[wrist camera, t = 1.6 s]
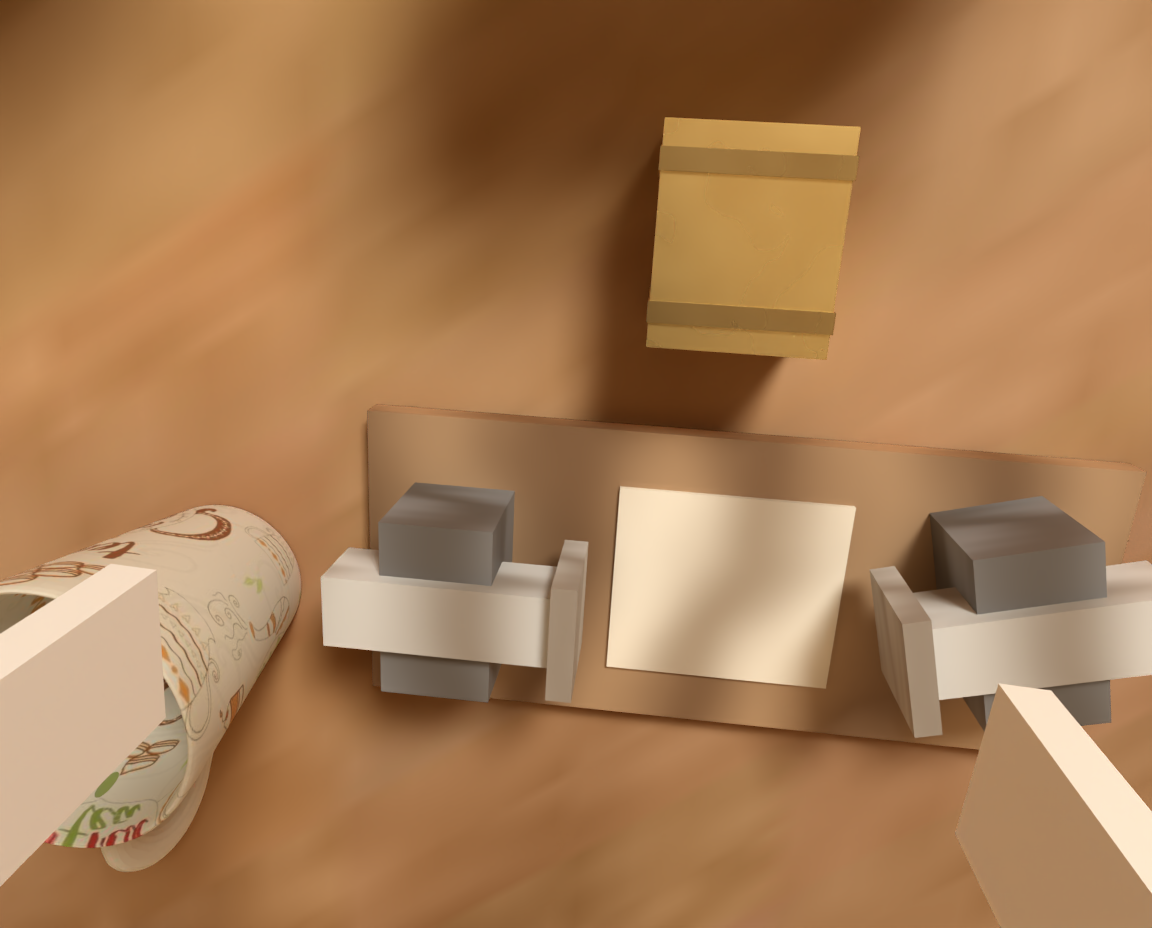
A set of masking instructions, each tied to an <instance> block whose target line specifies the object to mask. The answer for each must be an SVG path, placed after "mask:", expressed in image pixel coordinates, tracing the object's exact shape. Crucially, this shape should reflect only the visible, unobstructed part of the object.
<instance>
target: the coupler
mask: <svg viewBox="0 0 1152 928" xmlns="http://www.w3.org/2000/svg"><path fill="white" fill-rule="evenodd" d="M860 130H861V127H854V126H834V125H814V124H794V123H773V122H753V121H733V120H713V119H693V118H673V117H665V120H664V132H663V144H662V146H661V145H660V158H659V179H660V181H659V193H658V205H657V218H656V230H655V242H654V254H653V267H652V279H651V286H650V288H649V296H648V305H647V318H646V322H648V328H647V340H646V347H653V348H667V349H681V350H695V351H709V352H723V353H737V354H751V355H765V356H779V357H793V358H807V359H822V360H826V359H827V353H828V346H829V339H830V335H833V330H834V324H835V317H836V313H835V312H834V305H835V299H836V292H837V285H838V278H839V272H840V265H841V258H842V251H843V245H844V238H845V231H846V224H847V218H848V211H849V204H850V197H851V191H852V184H853V181H856V176H857V169H858V163H859V156H857V150H858V143H859V137H860Z"/></svg>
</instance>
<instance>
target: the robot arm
mask: <svg viewBox="0 0 1152 928" xmlns="http://www.w3.org/2000/svg"><path fill="white" fill-rule="evenodd" d="M165 718H166V713H165V697H164V681H163V665H162V649H161V633H160V617H159V600H158V584H157V570H154V569H146V568H139V567H132V566H124V565H117V564H110V565H108V566H106V567H105V568H103V569H102V570H100V571H98V572H97V573H95V574H94V575H92V576H91V577H89V578H87V579H86V580H84V581H83V582H81V583H80V584H78V585H76V586H75V587H73V588H72V589H70V590H68V591H67V592H65V593H64V594H62V595H61V596H59V597H57V598H56V599H54V600H53V601H51V602H50V603H48V604H46V605H45V606H43V607H42V608H40V609H39V610H37V611H35V612H34V613H32V614H31V615H29V616H27V617H26V618H24V619H23V620H21V621H20V622H18V623H16V624H15V625H13V626H12V627H10V628H9V629H7V630H5V631H4V632H2V633H1V634H0V886H1V885H2V884H3V883H4V882H5V881H6V880H7V879H8V878H9V877H10V876H11V875H12V874H13V873H14V872H15V871H16V870H17V869H18V868H19V867H20V866H21V865H22V864H23V863H24V862H25V861H26V860H27V859H28V858H29V857H30V856H31V855H32V854H33V853H34V852H35V851H36V849H37V848H38V847H39V846H40V845H41V844H42V843H43V842H44V841H45V840H46V839H47V838H48V837H49V836H50V835H51V834H52V833H53V832H54V831H55V830H56V829H57V828H58V827H59V826H60V825H61V824H62V823H63V822H64V821H65V820H66V819H67V818H68V817H69V816H70V815H71V814H72V813H73V812H74V811H75V810H76V809H77V808H78V807H79V806H80V805H81V804H82V803H83V802H84V801H85V800H86V799H87V798H88V797H89V796H90V795H91V794H92V793H93V791H94V790H95V789H96V788H97V787H98V786H99V785H100V784H101V783H102V782H103V781H104V780H105V779H106V778H107V777H108V776H109V775H110V774H111V773H112V772H113V771H114V770H115V769H116V768H117V767H118V766H119V765H120V764H121V763H122V762H123V761H124V760H125V759H126V758H127V757H128V756H129V755H130V754H131V753H132V752H133V751H134V750H135V749H136V748H137V747H138V746H139V745H140V744H141V743H142V742H143V741H144V740H145V739H146V738H147V737H148V736H149V734H150V733H151V732H152V731H153V730H154V729H155V728H156V727H157V726H158V725H159V724H160V723H161V722H162V721H163V720H164V719H165ZM955 835H956V837H957V839H958V841H959V843H960V845H961V847H962V849H963V851H964V853H965V856H966V858H967V860H968V862H969V864H970V866H971V868H972V870H973V872H974V874H975V876H976V878H977V880H978V883H979V885H980V887H981V889H982V891H983V893H984V895H985V897H986V899H987V901H988V903H989V905H990V908H991V910H992V912H993V914H994V916H995V918H996V920H997V922H998V924H999V926H1000V928H1152V811H1151V810H1150V809H1149V808H1148V807H1147V805H1146V804H1145V803H1144V802H1143V801H1142V799H1141V798H1140V797H1139V796H1138V795H1137V793H1136V792H1135V791H1134V790H1133V789H1132V787H1131V786H1130V785H1129V784H1128V783H1127V781H1126V780H1125V779H1124V778H1123V777H1122V775H1121V774H1120V773H1119V772H1118V770H1117V769H1116V768H1115V767H1114V766H1113V764H1112V763H1111V762H1110V761H1109V760H1108V758H1107V757H1106V756H1105V755H1104V754H1103V752H1102V751H1101V750H1100V749H1099V748H1098V746H1097V745H1096V744H1095V743H1094V742H1093V740H1092V739H1091V738H1090V737H1089V736H1088V734H1087V733H1086V732H1085V731H1084V729H1083V728H1082V727H1081V726H1080V725H1079V723H1078V722H1077V721H1076V720H1075V719H1074V717H1073V716H1072V715H1071V714H1070V713H1069V711H1068V710H1067V709H1066V708H1065V707H1064V705H1063V704H1062V703H1061V702H1060V701H1059V699H1058V698H1057V697H1056V696H1055V695H1054V693H1053V692H1052V691H1051V690H1044V689H1036V688H1029V687H1021V686H1014V685H1006V684H999V683H998V687H997V690H996V694H995V697H994V701H993V704H992V708H991V711H990V715H989V718H988V721H987V725H986V728H985V732H984V735H983V739H982V742H981V746H980V749H979V753H978V756H977V759H976V763H975V766H974V770H973V773H972V777H971V780H970V784H969V787H968V791H967V794H966V798H965V801H964V804H963V808H962V811H961V815H960V818H959V822H958V825H957V829H956V832H955Z"/></svg>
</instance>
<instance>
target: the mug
mask: <svg viewBox="0 0 1152 928" xmlns="http://www.w3.org/2000/svg"><path fill="white" fill-rule="evenodd" d="M110 564H117V565H124V566H132V567H139V568H146V569H154V570H157V584H158V600H159V617H160V633H161V649H162V665H163V681H164V697H165V713H166V718H165V719H164V720H163V721H162V722H161V723H160V724H159V725H158V726H157V727H156V728H155V729H154V730H153V731H152V732H151V733H150V734H149V736H148V737H147V738H146V739H145V740H144V741H143V742H142V743H141V744H140V745H139V746H138V747H137V748H136V749H135V750H134V751H133V752H132V753H131V754H130V755H129V756H128V757H127V758H126V759H125V760H124V761H123V762H122V763H121V764H120V765H119V766H118V767H117V768H116V769H115V770H114V771H113V772H112V773H111V774H110V775H109V776H108V777H107V778H106V779H105V780H104V781H103V782H102V783H101V784H100V785H99V786H98V787H97V788H96V789H95V790H94V791H93V793H92V794H91V795H90V796H89V797H88V798H87V799H86V800H85V801H84V802H83V803H82V804H81V805H80V806H79V807H78V808H77V809H76V810H75V811H74V812H73V813H72V814H71V815H70V816H69V817H68V818H67V819H66V820H65V821H64V822H63V823H62V824H61V825H60V826H59V827H58V828H57V829H56V830H55V831H54V832H53V833H52V834H51V835H50V836H49V837H48V838H47V839H46V840H45V841H44V842H46V843H50V844H54V845H60V846H66V847H77V848H98V847H100V848H101V851H102V853H103V856H104V859H105V860H106V862H107V864H108V865H109V866H110V867H112V868H114V869H116V870H117V871H121V872H133V871H138V870H142V869H145V868H148V867H150V866H152V865H154V864H155V863H157V862H158V861H159V860H161V859H162V858H163V857H164V856H166V855H167V854H168V853H169V852H170V851H171V850H172V849H173V848H174V847H175V845H176V844H177V843H178V842H179V841H180V839H181V838H182V837H183V835H184V834H185V832H186V831H187V829H188V828H189V826H190V824H191V822H192V821H193V819H194V817H195V814H196V812H197V810H198V808H199V806H200V803H201V801H202V798H203V795H204V792H205V789H206V785H207V781H208V777H209V772H210V767H211V762H212V757H213V753H214V750H215V749H216V747H217V745H218V744H219V742H220V740H221V739H222V737H223V735H224V734H225V732H226V730H227V729H228V727H229V725H230V724H231V722H232V720H233V718H234V717H235V715H236V713H237V712H238V710H239V708H240V707H241V705H242V703H243V702H244V700H245V698H246V697H247V695H248V693H249V692H250V690H251V688H252V687H253V685H254V683H255V682H256V680H257V678H258V677H259V675H260V673H261V672H262V670H263V668H264V667H265V665H266V663H267V662H268V660H269V658H270V657H271V655H272V653H273V652H274V650H275V648H276V647H277V645H278V643H279V642H280V640H281V638H282V637H283V635H284V633H285V632H286V630H287V628H288V626H289V625H290V623H291V621H292V619H293V617H294V615H295V613H296V611H297V608H298V605H299V602H300V597H301V576H300V571H299V567H298V564H297V561H296V559H295V556H294V554H293V552H292V551H291V549H290V547H289V546H288V544H287V543H286V541H285V540H284V539H283V537H282V536H281V535H280V534H279V533H278V532H277V531H276V530H275V529H274V528H273V527H272V526H270V525H269V524H268V523H267V522H265V521H264V520H262V519H261V518H259V517H258V516H256V515H254V514H252V513H250V512H247V511H245V510H242V509H239V508H235V507H231V506H224V505H206V506H200V507H196V508H192V509H189V510H186V511H183V512H180V513H177V514H175V515H172V516H170V517H167V518H164V519H162V520H159V521H156V522H154V523H151V524H148V525H146V526H143V527H140V528H138V529H135V530H133V531H130V532H127V533H125V534H122V535H119V536H117V537H114V538H111V539H109V540H106V541H104V542H101V543H98V544H96V545H93V546H90V547H88V548H85V549H82V550H80V551H77V552H75V553H72V554H69V555H67V556H64V557H61V558H59V559H56V560H53V561H51V562H48V563H45V564H43V565H40V566H38V567H35V568H32V569H30V570H27V571H24V572H22V573H19V574H16V575H14V576H11V577H9V578H6V579H3V580H1V581H0V634H1V633H2V632H4V631H5V630H7V629H9V628H10V627H12V626H13V625H15V624H16V623H18V622H20V621H21V620H23V619H24V618H26V617H27V616H29V615H31V614H32V613H34V612H35V611H37V610H39V609H40V608H42V607H43V606H45V605H46V604H48V603H50V602H51V601H53V600H54V599H56V598H57V597H59V596H61V595H62V594H64V593H65V592H67V591H68V590H70V589H72V588H73V587H75V586H76V585H78V584H80V583H81V582H83V581H84V580H86V579H87V578H89V577H91V576H92V575H94V574H95V573H97V572H98V571H100V570H102V569H103V568H105V567H106V566H108V565H110Z"/></svg>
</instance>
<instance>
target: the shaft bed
mask: <svg viewBox="0 0 1152 928" xmlns="http://www.w3.org/2000/svg"><path fill="white" fill-rule="evenodd" d="M367 423H368V474H369V525H370V549H360V548H348V549H347V550H346V551H345V552H344V553H343V554H342V555H341V556H340V557H339V558H338V559H337V560H336V561H335V563H334V564H333V565H332V566H331V567H330V568H329V569H328V570H327V571H326V572H325V573H324V574H323V575H322V576H321V595H322V621H323V645H324V646H334V647H344V648H354V649H363V650H372V677H373V686H380V687H381V691H384V692H393V693H403V694H412V695H422V696H431V697H441V698H450V699H460V700H469V701H479V702H488V701H489V698H494V699H503V700H513V701H522V702H532V703H541V704H551V705H560V706H570V707H579V708H589V709H598V710H608V711H617V712H627V713H636V714H646V715H655V716H665V717H674V718H684V719H693V720H703V721H712V722H722V723H731V724H741V725H750V726H760V727H769V728H779V729H788V730H798V731H807V732H817V733H826V734H836V735H845V736H855V737H864V738H874V739H883V740H893V741H902V742H912V743H921V744H931V745H940V746H950V747H959V748H969V749H978V750H979V749H980V746H981V742H982V739H983V735H984V732H985V728H986V725H987V721H988V718H989V715H990V711H991V708H992V704H993V701H994V697H995V694H996V690H997V687H998V683H999V684H1006V685H1014V686H1021V687H1029V688H1036V689H1044V690H1051V691H1052V692H1053V693H1054V695H1055V696H1056V697H1057V698H1058V699H1059V701H1060V702H1061V703H1062V704H1063V705H1064V707H1065V708H1066V709H1067V710H1068V711H1069V713H1070V714H1071V715H1072V716H1073V717H1074V719H1075V720H1076V721H1077V722H1078V723H1079V725H1080V726H1084V725H1093V724H1102V723H1111V699H1110V680H1111V679H1120V678H1128V677H1137V676H1145V675H1152V564H1151V563H1149V562H1148V561H1139V562H1132V563H1124V564H1122V560H1123V556H1124V553H1125V549H1126V545H1127V542H1128V538H1129V535H1130V531H1131V527H1132V524H1133V520H1134V516H1135V513H1136V509H1137V506H1138V502H1139V498H1140V495H1141V491H1142V488H1143V484H1144V480H1145V477H1146V473H1147V472H1146V471H1144V470H1142V469H1140V468H1138V467H1136V466H1134V465H1132V464H1130V463H1120V462H1108V461H1095V460H1082V459H1069V458H1056V457H1044V456H1031V455H1018V454H1005V453H993V452H980V451H967V450H954V449H942V448H929V447H916V446H903V445H891V444H878V443H865V442H852V441H840V440H827V439H814V438H801V437H789V436H776V435H763V434H750V433H738V432H725V431H712V430H699V429H687V428H674V427H661V426H648V425H636V424H623V423H610V422H597V421H585V420H572V419H559V418H546V417H534V416H521V415H508V414H495V413H483V412H470V411H457V410H444V409H432V408H419V407H406V406H393V405H381V404H376V405H375V406H373V407H372V408H370V409H369V410H367Z"/></svg>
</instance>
